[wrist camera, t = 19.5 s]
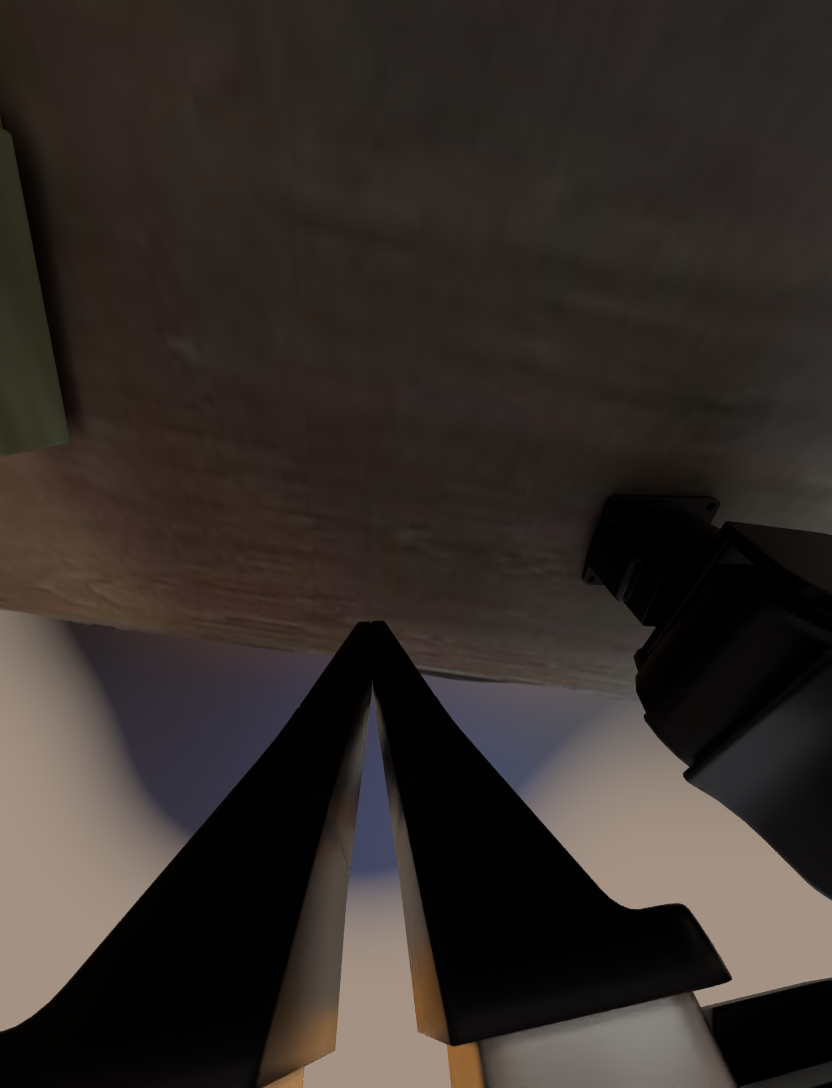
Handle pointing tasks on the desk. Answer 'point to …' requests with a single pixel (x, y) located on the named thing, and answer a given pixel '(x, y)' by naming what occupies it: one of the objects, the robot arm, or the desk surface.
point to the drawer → (23, 329)
